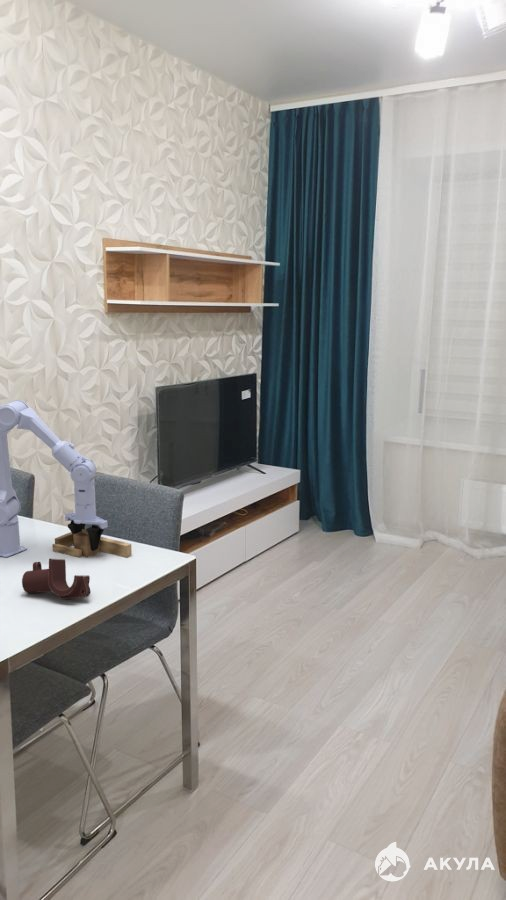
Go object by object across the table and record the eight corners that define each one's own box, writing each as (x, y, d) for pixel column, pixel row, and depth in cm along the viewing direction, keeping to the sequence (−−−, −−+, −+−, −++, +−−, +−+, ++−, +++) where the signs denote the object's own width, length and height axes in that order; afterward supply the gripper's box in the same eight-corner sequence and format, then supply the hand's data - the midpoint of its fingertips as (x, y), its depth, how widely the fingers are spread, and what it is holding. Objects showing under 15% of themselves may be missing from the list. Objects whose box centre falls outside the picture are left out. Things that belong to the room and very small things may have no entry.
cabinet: (74, 554, 207) (73, 531, 205) (86, 549, 211) (85, 526, 209) (87, 557, 204) (86, 534, 203) (99, 552, 208) (98, 529, 207)
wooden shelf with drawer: (52, 550, 209) (52, 539, 208) (74, 541, 217) (74, 530, 216) (110, 565, 198) (109, 553, 198) (131, 555, 206) (131, 543, 205)
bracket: (82, 596, 172) (80, 554, 174) (21, 602, 177) (20, 561, 179) (95, 596, 178) (93, 555, 180) (36, 601, 183) (35, 562, 185)
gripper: (56, 502, 205) (58, 547, 208) (94, 510, 197) (96, 556, 200) (74, 496, 211) (76, 540, 214) (111, 503, 203) (113, 549, 206)
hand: (87, 547), depth 207 cm, fingers closed on cabinet, 5 cm apart
